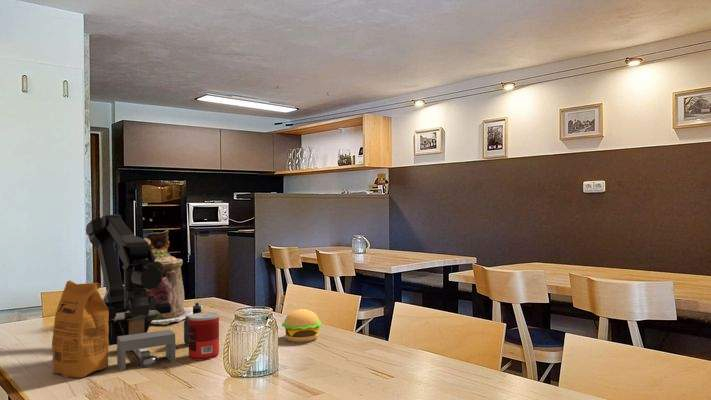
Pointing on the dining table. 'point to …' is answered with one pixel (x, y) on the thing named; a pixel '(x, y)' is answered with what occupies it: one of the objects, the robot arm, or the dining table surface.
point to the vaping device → (186, 328)
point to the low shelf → (145, 344)
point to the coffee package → (80, 331)
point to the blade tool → (136, 328)
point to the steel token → (148, 361)
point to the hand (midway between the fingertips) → (135, 340)
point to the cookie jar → (167, 280)
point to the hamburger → (301, 326)
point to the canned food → (203, 335)
